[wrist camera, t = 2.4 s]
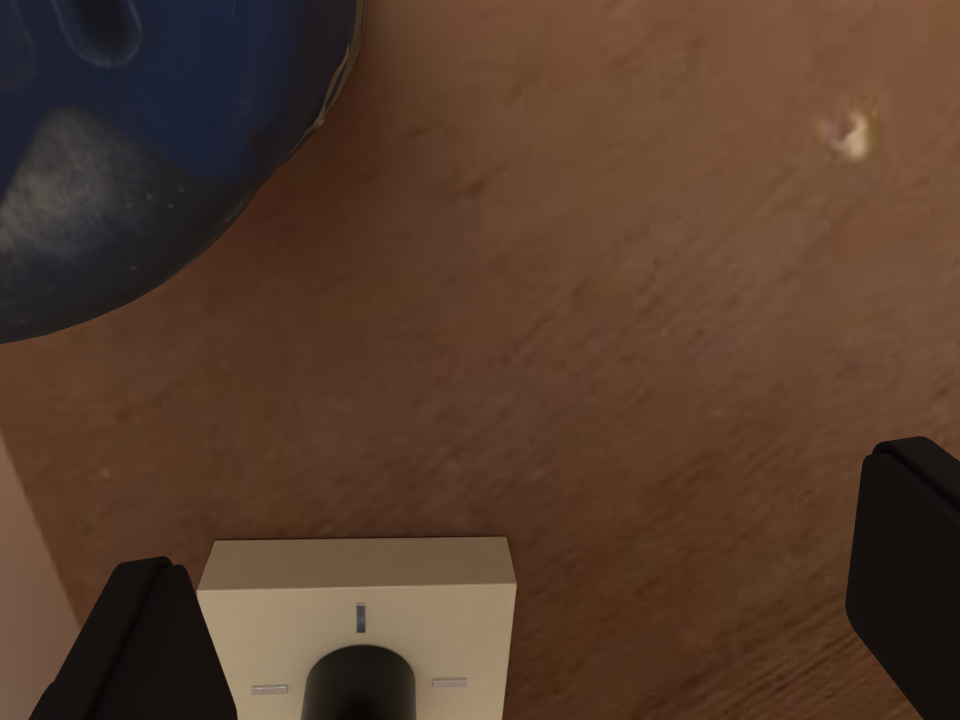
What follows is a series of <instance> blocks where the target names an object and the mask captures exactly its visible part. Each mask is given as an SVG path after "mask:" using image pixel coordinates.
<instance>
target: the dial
mask: <svg viewBox="0 0 960 720" xmlns="http://www.w3.org/2000/svg"><path fill="white" fill-rule="evenodd" d="M301 720H417V715H416V684H415V676H414V673H413V671H412V669H411V667H410V666H409V664H408V663H407V662H406V661H405V660H404V659H403V658H402V657H401V656H399V655H398V654H396V653H394V652H392V651H390V650H387V649H384V648H381V647H377V646H369V645H359V646H350V647H345V648H342V649H339V650H336V651H334V652H332V653H330V654H328V655H326V656H325V657H323V658H322V659H321V660H319V661H318V662H317V663H316V664H315V666H314V667H313V668H312V669H311V671H310V673H309V674H308V677H307V680H306V684H305V691H304V699H303V706H302V713H301Z"/></svg>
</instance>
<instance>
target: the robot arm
mask: <svg viewBox="0 0 960 720" xmlns="http://www.w3.org/2000/svg"><path fill="white" fill-rule="evenodd" d="M846 612H847V615H848V619H849V621H850V623H851V625H852V627H853V629H854V630H855V632H856V633H857V634H858V636H859V637H860V638H861V639H862V641H863V642H864V643H865V645H866V646H867V647H868V648H869V650H870V651H871V652H872V654H873V655H874V656H875V657H876V659H877V660H878V661H879V663H880V664H881V665H882V667H883V668H884V669H885V670H886V672H887V673H888V674H889V676H890V677H891V678H892V679H893V681H894V682H895V683H896V685H897V686H898V687H899V688H900V690H901V691H902V692H903V694H904V695H905V696H906V697H907V699H908V700H909V701H910V703H911V704H912V705H913V707H914V708H915V709H916V710H917V712H918V713H919V714H920V716H921V717H922V718H923V719H924V720H960V461H958V460H957V459H956V458H954V457H953V456H952V455H950V454H949V453H948V452H946V451H945V450H944V449H942V448H941V447H940V446H938V445H937V444H936V443H934V442H933V441H932V440H930V439H928V438H926V437H921V436H917V437H911V438H904V439H898V440H892V441H886V442H881V443H879V444H877V445H876V446H875V448H874V449H873V452H872V454H871V455H868V456H866V457H865V459H864V461H863V464H862V472H861V480H860V488H859V496H858V504H857V512H856V520H855V529H854V537H853V545H852V553H851V561H850V569H849V577H848V586H847V594H846ZM29 720H238V715H237V709H236V705H235V702H234V699H233V696H232V694H231V691H230V688H229V685H228V683H227V680H226V677H225V674H224V672H223V669H222V666H221V663H220V660H219V658H218V655H217V652H216V649H215V647H214V644H213V641H212V638H211V636H210V633H209V630H208V627H207V624H206V622H205V619H204V616H203V613H202V611H201V608H200V605H199V602H198V600H197V597H196V594H195V591H194V589H193V586H192V583H191V580H190V577H189V575H188V572H187V570H186V568H185V567H184V566H183V565H175V566H173V564H172V562H171V561H170V560H169V558H168V557H164V556H161V557H155V558H148V559H142V560H136V561H130V562H123V563H121V564H119V565H117V567H116V568H115V569H114V571H113V573H112V574H111V576H110V578H109V580H108V582H107V584H106V586H105V587H104V589H103V591H102V593H101V595H100V597H99V599H98V600H97V602H96V604H95V606H94V608H93V610H92V612H91V613H90V615H89V617H88V619H87V621H86V623H85V625H84V626H83V628H82V630H81V632H80V634H79V636H78V638H77V639H76V641H75V643H74V645H73V647H72V649H71V651H70V652H69V654H68V656H67V658H66V660H65V662H64V664H63V665H62V667H61V669H60V671H59V673H58V675H57V677H56V679H55V680H54V682H52V683H51V684H50V685H49V686H48V688H47V689H46V690H45V692H44V693H43V695H42V696H41V698H40V700H39V702H38V703H37V705H36V707H35V709H34V711H33V713H32V715H31V716H30V718H29Z"/></svg>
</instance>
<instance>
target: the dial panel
mask: <svg viewBox="0 0 960 720" xmlns="http://www.w3.org/2000/svg"><path fill="white" fill-rule="evenodd" d="M516 589H517V582H516V578H515V573H514V569H513V564H512V560H511V555H510V551H509V546H508V542H507V538H506V537H434V538H362V539H289V540H217V541H215V542H214V544H213V547H212V550H211V552H210V555H209V558H208V561H207V564H206V566H205V569H204V572H203V575H202V578H201V580H200V583H199V586H198V589H197V599H198V602H199V605H200V608H201V611H202V613H203V616H204V619H205V622H206V624H207V627H208V630H209V633H210V636H211V638H212V641H213V644H214V647H215V649H216V652H217V655H218V658H219V660H220V663H221V666H222V669H223V672H224V674H225V677H226V680H227V683H228V685H229V688H230V691H231V694H232V696H233V699H234V702H235V705H236V709H237V715H238V720H301V713H302V706H303V699H304V691H305V684H306V680H307V677H308V674H309V673H310V671H311V669H312V668H313V667H314V666H315V664H316V663H317V662H318V661H319V660H321V659H322V658H323V657H325V656H326V655H328V654H330V653H332V652H334V651H336V650H339V649H342V648H345V647H350V646H359V645H369V646H377V647H381V648H384V649H387V650H390V651H392V652H394V653H396V654H398V655H399V656H401V657H402V658H403V659H404V660H405V661H406V662H407V663H408V664H409V666H410V667H411V669H412V671H413V673H414V676H415V684H416V715H417V720H502V715H503V706H504V697H505V688H506V679H507V670H508V661H509V652H510V643H511V634H512V625H513V616H514V607H515V598H516Z"/></svg>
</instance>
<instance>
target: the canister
mask: <svg viewBox="0 0 960 720" xmlns="http://www.w3.org/2000/svg"><path fill="white" fill-rule="evenodd" d="M366 8H367V0H0V344H4V343H10V342H15V341H21V340H25V339H30V338H34V337H39V336H43V335H47V334H50V333H53V332H56V331H59V330H62V329H65V328H68V327H71V326H74V325H77V324H80V323H83V322H86V321H89V320H91V319H94V318H96V317H98V316H101V315H103V314H105V313H108V312H110V311H112V310H115V309H117V308H120V307H122V306H124V305H126V304H128V303H130V302H132V301H134V300H136V299H138V298H139V297H141V296H143V295H144V294H146V293H148V292H149V291H151V290H153V289H154V288H156V287H158V286H159V285H161V284H163V283H164V282H165V281H167V280H168V279H169V278H171V277H172V276H174V275H175V274H176V273H178V272H179V271H180V270H182V269H183V268H184V267H186V266H187V265H189V264H190V263H191V262H193V261H194V260H195V259H196V258H197V257H198V256H199V255H201V254H202V253H203V252H204V251H205V250H206V249H207V248H208V247H210V246H211V245H212V244H213V243H214V242H215V241H216V240H218V238H219V237H220V236H221V235H222V234H223V233H224V232H225V231H226V230H227V229H228V228H229V227H230V225H231V224H232V223H233V222H234V221H235V220H236V219H237V218H238V217H239V216H240V214H241V213H242V212H243V211H244V210H245V208H246V207H247V205H248V204H249V202H250V201H251V199H252V198H253V197H254V195H255V194H256V192H257V191H258V189H259V188H260V187H261V186H262V185H263V184H264V183H265V182H266V181H267V180H268V179H269V178H270V177H271V176H272V175H273V174H274V173H275V171H276V170H277V169H278V168H279V167H280V166H281V165H283V164H284V163H285V162H286V161H287V160H288V159H290V158H291V156H292V155H293V154H294V153H295V152H296V151H297V150H298V149H299V148H300V147H301V146H302V145H303V144H304V143H305V142H306V140H307V139H308V138H309V137H310V136H311V135H312V133H313V132H314V131H315V129H316V128H318V127H320V126H321V125H322V124H323V123H324V117H325V116H326V114H327V113H328V111H329V110H330V108H331V106H332V105H333V104H334V102H335V101H336V99H337V98H338V96H339V95H340V93H341V91H342V89H343V87H344V85H345V83H346V81H347V79H348V77H349V76H350V74H351V73H352V68H353V66H354V64H355V62H356V59H357V57H358V53H359V50H360V47H361V43H362V39H363V34H364V29H365V21H366Z"/></svg>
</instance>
